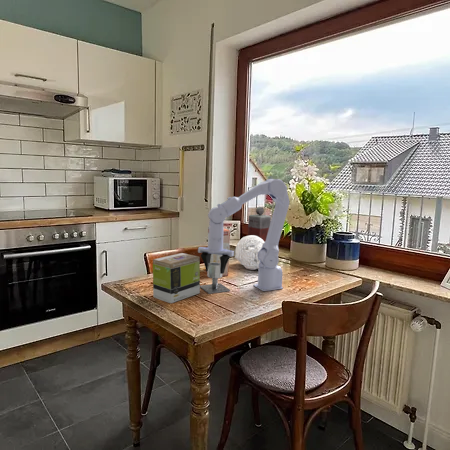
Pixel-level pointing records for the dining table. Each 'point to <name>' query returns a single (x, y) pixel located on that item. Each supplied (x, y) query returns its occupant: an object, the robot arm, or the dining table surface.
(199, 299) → the dining table surface
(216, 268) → the collar
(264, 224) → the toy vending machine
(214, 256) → the cracker box
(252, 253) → the cauliflower
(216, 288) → the duct stub
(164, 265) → the tea box
